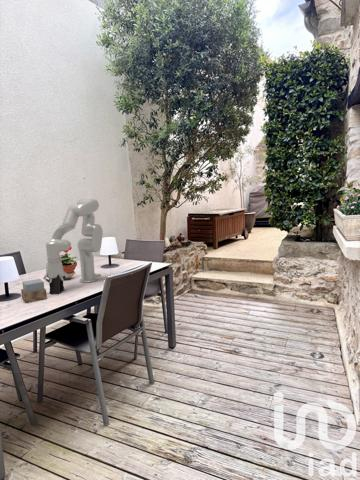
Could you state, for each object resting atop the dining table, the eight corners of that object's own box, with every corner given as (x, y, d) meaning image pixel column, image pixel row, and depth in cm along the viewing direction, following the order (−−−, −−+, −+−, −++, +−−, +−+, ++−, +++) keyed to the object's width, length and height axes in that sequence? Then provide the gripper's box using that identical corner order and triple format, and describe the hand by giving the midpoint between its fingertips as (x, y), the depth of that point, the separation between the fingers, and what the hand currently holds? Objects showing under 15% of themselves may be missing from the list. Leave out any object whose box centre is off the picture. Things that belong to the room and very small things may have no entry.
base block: (42, 294, 194) (41, 285, 193) (46, 299, 184) (46, 289, 183) (22, 298, 187) (21, 289, 186) (25, 303, 177) (24, 294, 176)
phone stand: (55, 289, 202) (53, 272, 200) (64, 289, 201) (62, 272, 199) (49, 294, 193) (47, 275, 191) (58, 293, 192) (56, 275, 191)
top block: (40, 286, 192) (39, 278, 191) (44, 289, 184) (43, 281, 183) (23, 289, 186) (22, 281, 185) (26, 293, 178) (25, 285, 177)
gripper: (66, 257, 202) (68, 283, 204) (38, 261, 192) (41, 288, 195) (69, 259, 196) (71, 286, 198) (40, 263, 186) (43, 291, 189)
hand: (56, 287), depth 196 cm, fingers closed on phone stand, 5 cm apart
